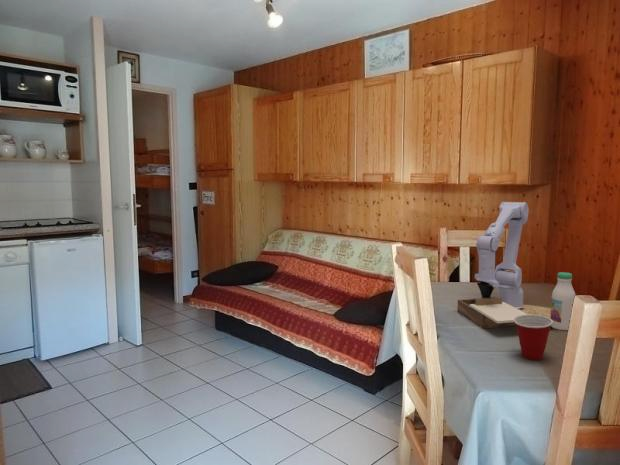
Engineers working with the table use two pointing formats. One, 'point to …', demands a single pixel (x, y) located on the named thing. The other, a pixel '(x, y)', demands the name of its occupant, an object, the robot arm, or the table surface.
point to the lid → (496, 309)
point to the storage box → (478, 315)
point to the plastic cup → (533, 335)
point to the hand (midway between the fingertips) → (486, 301)
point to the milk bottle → (562, 301)
